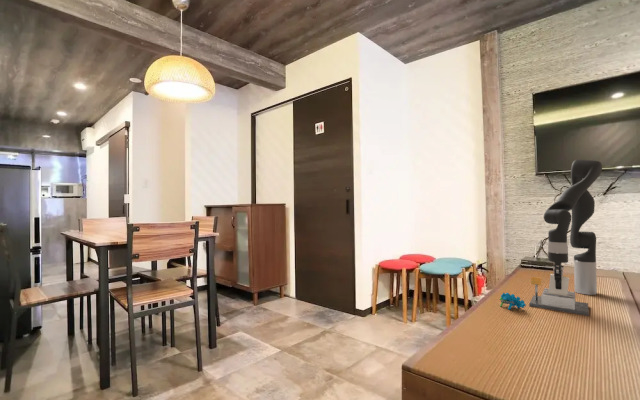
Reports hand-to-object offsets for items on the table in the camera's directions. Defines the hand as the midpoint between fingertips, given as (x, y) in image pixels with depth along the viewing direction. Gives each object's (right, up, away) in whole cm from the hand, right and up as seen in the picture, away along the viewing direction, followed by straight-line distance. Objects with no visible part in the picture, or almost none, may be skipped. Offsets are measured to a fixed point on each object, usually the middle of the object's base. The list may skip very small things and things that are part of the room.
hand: (558, 288), depth 148 cm
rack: (0, -8, 0) cm, 8 cm away
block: (0, -4, 0) cm, 4 cm away
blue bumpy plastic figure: (-24, -9, -3) cm, 25 cm away
